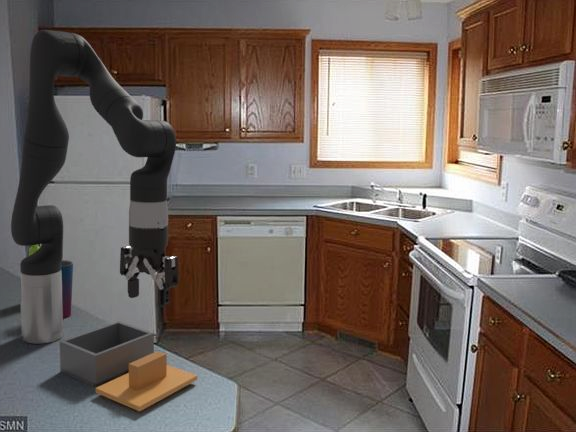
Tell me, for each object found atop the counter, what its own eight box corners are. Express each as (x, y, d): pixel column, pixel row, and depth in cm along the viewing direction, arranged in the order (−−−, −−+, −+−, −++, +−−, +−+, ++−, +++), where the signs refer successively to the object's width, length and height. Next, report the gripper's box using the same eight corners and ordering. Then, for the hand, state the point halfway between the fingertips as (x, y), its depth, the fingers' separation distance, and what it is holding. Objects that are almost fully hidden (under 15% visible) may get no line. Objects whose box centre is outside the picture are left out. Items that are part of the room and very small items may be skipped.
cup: (65, 321, 152) (63, 267, 150) (42, 318, 154) (41, 265, 151) (79, 312, 159) (78, 261, 156) (57, 310, 160) (56, 259, 158)
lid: (95, 398, 113) (95, 364, 112) (155, 369, 127) (155, 339, 125) (139, 417, 106) (139, 381, 105) (197, 385, 120) (197, 353, 119)
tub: (60, 371, 123) (59, 341, 122) (119, 348, 136) (118, 321, 135) (95, 387, 116) (95, 355, 115) (153, 362, 130) (153, 333, 128)
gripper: (109, 220, 111) (109, 298, 114) (160, 230, 104) (159, 314, 106) (138, 215, 117) (138, 290, 120) (188, 225, 110) (187, 304, 113)
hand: (148, 301), depth 113 cm, fingers open, 8 cm apart
